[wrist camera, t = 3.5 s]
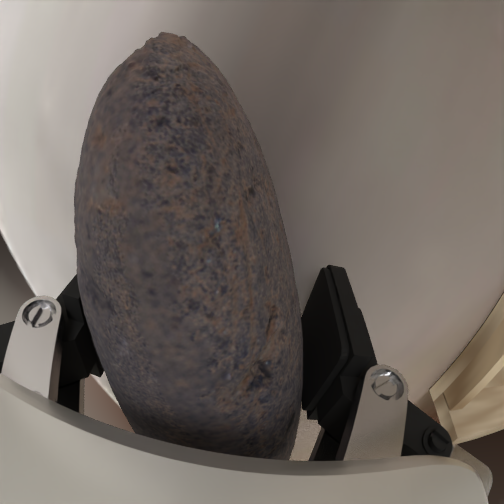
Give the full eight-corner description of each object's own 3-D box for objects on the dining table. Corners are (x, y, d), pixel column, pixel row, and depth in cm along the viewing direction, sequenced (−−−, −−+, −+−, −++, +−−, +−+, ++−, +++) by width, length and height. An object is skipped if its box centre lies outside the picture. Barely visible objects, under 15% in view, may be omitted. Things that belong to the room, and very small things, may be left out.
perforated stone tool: (125, 67, 7) (-74, 83, 1) (296, 44, 7) (365, -85, 1) (195, 382, 15) (170, 498, 9) (292, 384, 14) (293, 508, 8)
